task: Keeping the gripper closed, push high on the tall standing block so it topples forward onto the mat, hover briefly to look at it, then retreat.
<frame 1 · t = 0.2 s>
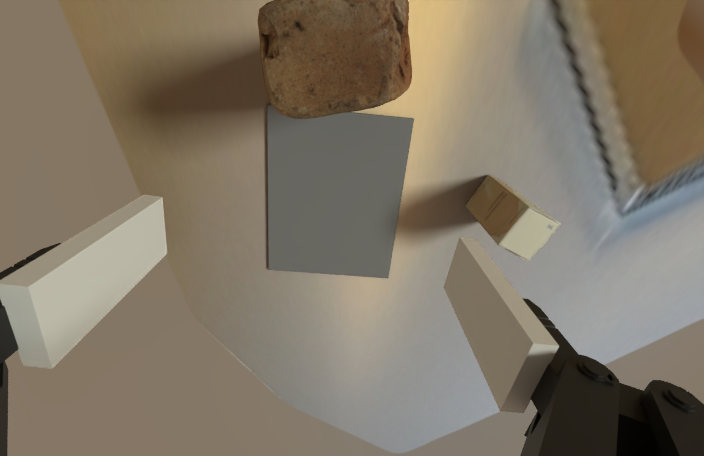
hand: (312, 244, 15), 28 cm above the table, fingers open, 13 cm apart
box: (487, 198, 44), on the table
mat: (334, 200, 44), on the table
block: (345, 64, 37), on the table
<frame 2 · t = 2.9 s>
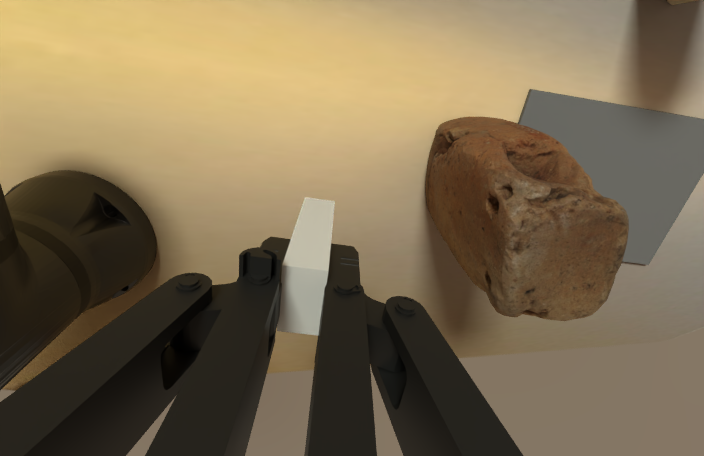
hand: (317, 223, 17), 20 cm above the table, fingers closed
mat: (594, 186, 38), on the table
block: (456, 165, 37), on the table
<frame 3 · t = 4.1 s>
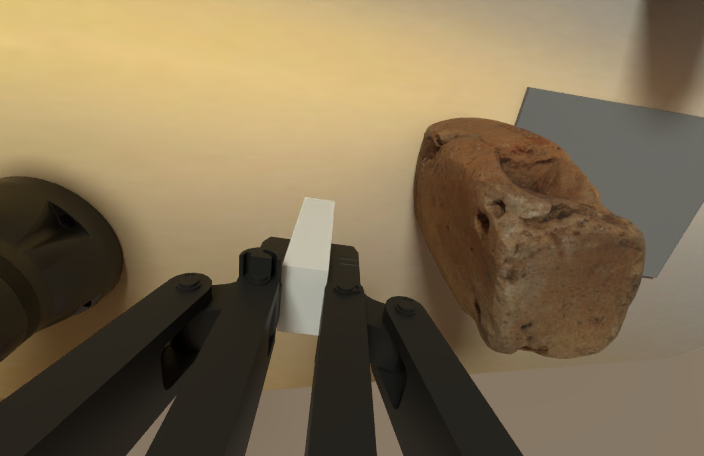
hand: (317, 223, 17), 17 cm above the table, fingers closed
mat: (598, 193, 35), on the table
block: (447, 170, 33), on the table
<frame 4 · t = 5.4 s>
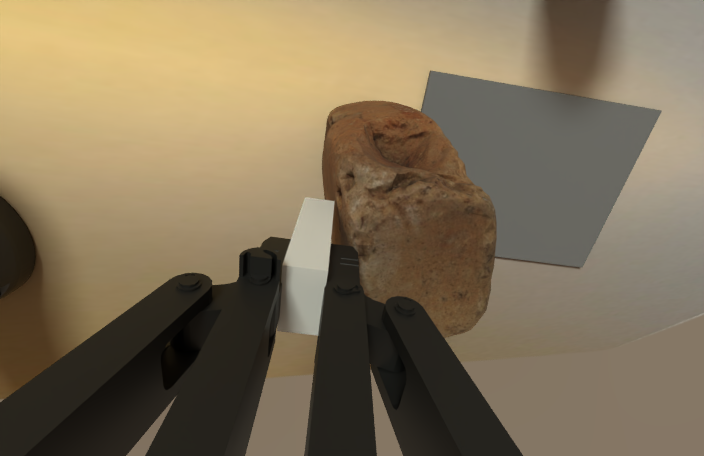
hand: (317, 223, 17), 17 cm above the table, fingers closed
mat: (514, 180, 34), on the table
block: (358, 158, 32), on the table, touching gripper
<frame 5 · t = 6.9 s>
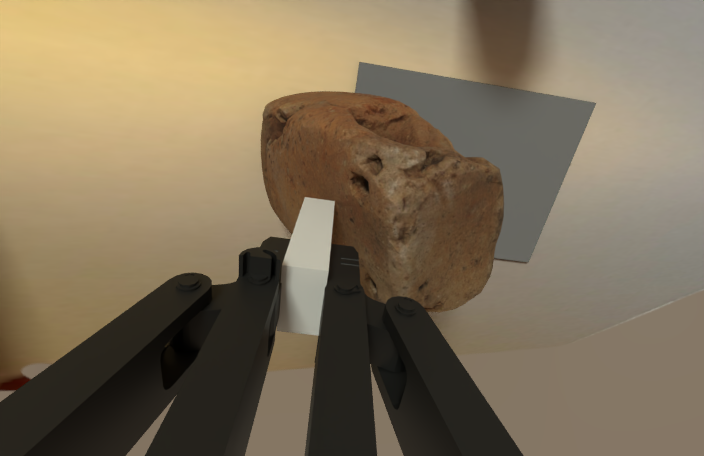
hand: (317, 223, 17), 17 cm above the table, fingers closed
mat: (454, 174, 34), on the table
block: (295, 154, 31), point 1 cm above the table, touching gripper
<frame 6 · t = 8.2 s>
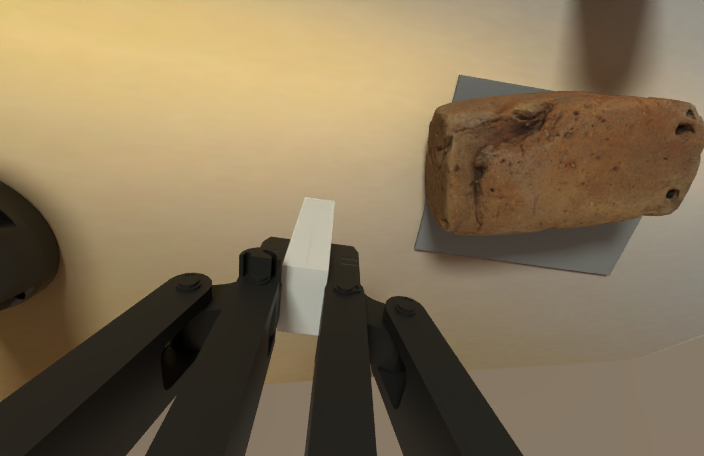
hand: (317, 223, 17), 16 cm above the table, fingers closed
mat: (542, 186, 33), on the table
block: (430, 170, 28), point 4 cm above the table, touching mat
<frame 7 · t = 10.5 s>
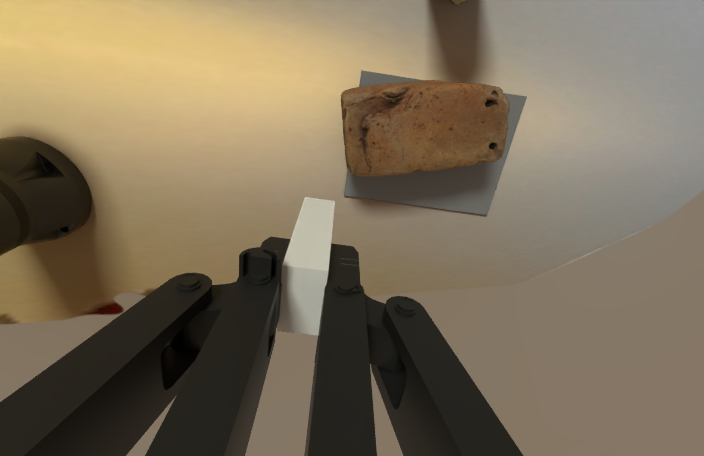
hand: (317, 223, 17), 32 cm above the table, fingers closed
mat: (429, 148, 48), on the table
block: (341, 134, 43), point 4 cm above the table, touching mat
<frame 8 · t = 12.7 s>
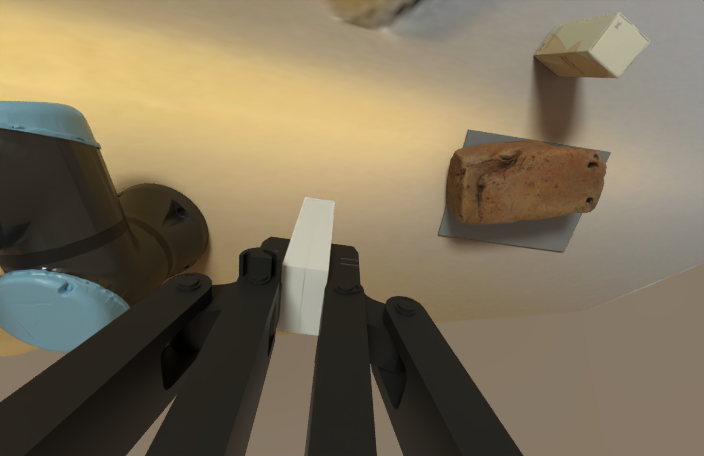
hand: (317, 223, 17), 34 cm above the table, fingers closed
box: (557, 52, 45), on the table
mat: (519, 195, 53), on the table
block: (451, 186, 48), point 4 cm above the table, touching mat
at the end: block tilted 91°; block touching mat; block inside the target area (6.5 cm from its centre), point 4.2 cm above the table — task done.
